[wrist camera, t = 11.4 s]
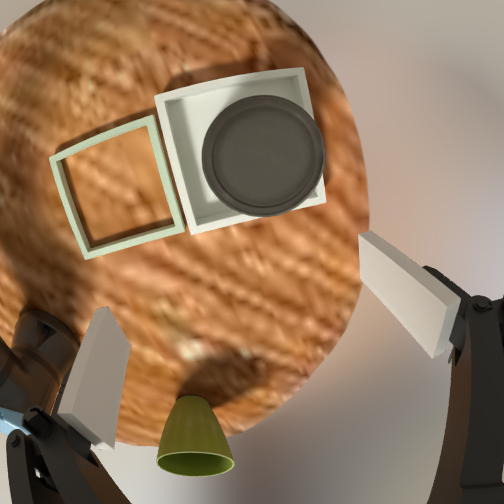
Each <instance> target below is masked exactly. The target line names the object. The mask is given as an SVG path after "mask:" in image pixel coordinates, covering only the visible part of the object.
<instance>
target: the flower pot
mask: <svg viewBox="0 0 504 504" xmlns="http://www.w3.org/2000/svg"><path fill="white" fill-rule="evenodd" d="M156 463H157V465H158V466H159V467H160V468H161V469H163V470H165V471H167V472H170V473H173V474H177V475H182V476H191V477H193V476H195V477H199V476H200V477H203V476H212V475H218V474H222V473H225V472H227V471H229V470H231V469H232V468H233V467H234V464H235V463H234V460H233V457H232V453H231V451H230V448H229V445H228V442H227V440H226V437H225V435H224V433H223V430H222V428H221V426H220V424H219V422H218V420H217V418H216V416H215V414H214V412H213V410H212V408H211V407H210V405H209V403H208V402H207V401H206V400H205V399H204V398H202V397H199V396H193V395H188V396H183V397H180V398H179V399H177V401H176V402H175V404H174V406H173V408H172V410H171V412H170V414H169V417H168V419H167V421H166V424H165V427H164V430H163V433H162V436H161V440H160V445H159V450H158V455H157V461H156Z"/></svg>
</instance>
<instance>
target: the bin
mask: <svg viewBox="0 0 504 504" xmlns="http://www.w3.org/2000/svg"><path fill="white" fill-rule="evenodd" d="M256 95H273V96H279V97H282V98H285V99H288V100H290V101H292V102H294V103H296V104H297V105H299V106H300V107H302V108H303V109H304V110H305V111H306V112H307V113H308V114H309V115H310V116H311V117H312V118H313V120H314V116H313V110H312V105H311V100H310V95H309V90H308V85H307V80H306V75H305V71H304V67H299V68H288V69H278V70H270V71H262V72H255V73H249V74H243V75H237V76H231V77H226V78H221V79H216V80H212V81H207V82H203V83H199V84H195V85H191V86H187V87H183V88H179V89H176V90H172V91H169V92H165V93H162V94H159V95H155V96H154V98H155V102H156V107H157V111H158V115H159V120H160V124H161V128H162V132H163V136H164V140H165V144H166V148H167V152H168V155H169V159H170V163H171V167H172V171H173V174H174V178H175V182H176V185H177V189H178V192H179V196H180V199H181V203H182V206H183V210H184V213H185V216H186V220H187V223H188V226H189V230H190V233H191V235H194V234H198V233H202V232H205V231H209V230H213V229H217V228H221V227H225V226H229V225H233V224H237V223H241V222H245V221H249V220H253V219H257V218H261V217H253V216H248V215H244V214H241V213H239V212H237V211H234V210H232V209H231V208H229V207H227V206H226V205H225V204H224V203H222V202H221V201H220V200H219V199H218V198H217V197H216V196H215V194H214V193H213V192H212V190H211V189H210V187H209V185H208V183H207V181H206V179H205V176H204V173H203V169H202V158H201V154H202V146H203V141H204V137H205V134H206V131H207V129H208V127H209V126H210V124H211V123H212V121H213V120H214V119H215V118H216V117H217V116H218V114H219V113H220V112H222V111H223V110H224V109H225V108H226V107H228V106H229V105H231V104H232V103H234V102H236V101H238V100H240V99H243V98H246V97H250V96H256ZM322 203H326V196H325V188H324V180H323V173H322V176H321V179H320V181H319V183H318V185H317V187H316V188H315V190H314V191H313V192H312V194H311V195H310V196H309V197H308V198H307V199H306V200H305V201H304V202H303V203H302V204H300V205H299V206H298V207H296V208H294V209H292V210H295V209H300V208H304V207H309V206H313V205H318V204H322Z"/></svg>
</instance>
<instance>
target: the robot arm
mask: <svg viewBox="0 0 504 504" xmlns="http://www.w3.org/2000/svg"><path fill="white" fill-rule="evenodd" d="M358 237H359V256H360V280H361V281H362V282H363V283H364V284H365V285H366V286H367V287H368V288H369V289H370V290H371V291H372V292H373V293H374V294H375V295H376V296H377V297H378V298H379V300H380V301H381V302H382V303H383V304H384V305H385V306H386V307H387V308H388V309H389V310H390V311H391V313H392V314H393V315H394V316H395V317H396V318H397V319H398V320H399V321H400V322H401V323H402V325H403V326H404V327H405V328H406V329H407V330H408V331H409V332H410V334H411V335H412V336H413V337H414V338H415V339H416V340H417V342H418V343H419V344H420V345H421V346H422V347H423V348H424V350H425V351H426V352H427V353H428V354H429V356H430V357H431V358H432V359H433V358H435V357H436V356H438V355H440V354H441V353H443V352H445V351H446V348H447V345H448V342H449V341H450V342H451V343H452V344H453V345H454V346H453V349H452V352H451V355H450V357H449V360H448V363H450V362H451V359H452V370H451V387H450V398H449V407H448V415H447V422H446V429H445V435H444V441H443V446H442V451H441V455H440V460H439V464H438V468H437V472H436V476H435V480H434V483H433V487H432V490H431V493H430V497H429V500H428V502H427V504H504V483H503V482H502V471H503V464H504V296H503V298H502V299H498V300H495V301H491V300H490V299H489V298H487V297H485V296H480V295H477V296H473V297H471V296H470V295H469V294H467V293H466V292H465V291H464V290H462V289H461V288H460V287H459V286H457V285H456V284H455V283H453V282H452V281H450V280H449V279H448V278H447V277H446V276H444V275H443V274H442V273H440V272H439V271H438V270H436V269H434V268H431V267H429V266H423V267H421V266H419V265H418V264H417V263H416V262H414V261H413V260H412V259H410V258H409V257H407V256H406V255H405V254H403V253H402V252H401V251H399V250H398V249H397V248H395V247H394V246H392V245H391V244H390V243H388V242H387V241H385V240H384V239H382V238H381V237H380V236H378V235H377V234H375V233H374V232H372V231H367V232H364V233H361V234H358ZM130 349H131V344H130V342H129V341H128V339H127V337H126V336H125V334H124V332H123V331H122V329H121V328H120V326H119V324H118V322H117V321H116V319H115V317H114V316H113V314H112V312H111V310H110V309H109V307H108V306H106V307H102V308H99V309H96V311H95V313H94V315H93V317H92V320H91V322H90V324H89V327H88V329H87V331H86V334H85V336H84V339H83V341H82V344H81V346H80V347H79V344H78V342H77V340H76V338H75V336H74V335H73V334H72V332H71V331H70V330H69V329H68V328H67V327H66V326H65V325H64V324H63V323H62V322H61V321H59V320H58V319H57V318H55V317H54V316H52V315H50V314H48V313H46V312H43V311H39V310H29V311H26V312H24V313H23V314H22V315H21V317H20V318H19V320H18V321H17V323H16V326H15V331H14V335H13V340H12V345H11V348H9V347H8V346H7V344H6V343H5V342H4V340H3V339H2V338H1V336H0V432H2V433H4V434H5V435H8V438H7V442H6V452H7V467H8V478H9V486H10V493H11V499H12V504H131V503H130V501H129V500H128V499H127V498H126V496H125V495H124V494H123V493H122V491H121V490H120V489H119V487H118V486H117V485H116V484H115V482H114V481H113V479H112V478H111V477H110V475H109V474H108V472H107V471H106V470H105V468H104V467H103V465H102V464H101V462H100V461H99V459H98V458H97V456H96V455H95V453H94V452H93V451H92V450H90V447H91V443H92V444H93V445H94V446H95V447H97V448H98V449H100V450H114V445H115V436H116V428H117V421H118V414H119V408H120V401H121V395H122V389H123V384H124V378H125V373H126V368H127V363H128V358H129V353H130ZM60 384H61V387H60ZM59 387H60V389H59ZM58 389H59V394H58V395H57V392H58ZM56 395H57V398H56ZM55 398H56V401H55ZM54 401H55V404H54ZM53 404H54V407H53ZM52 407H53V410H52ZM51 410H52V413H51ZM50 413H51V416H50ZM35 470H36V471H38V472H39V473H40V478H39V477H37V476H36V471H35Z"/></svg>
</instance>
